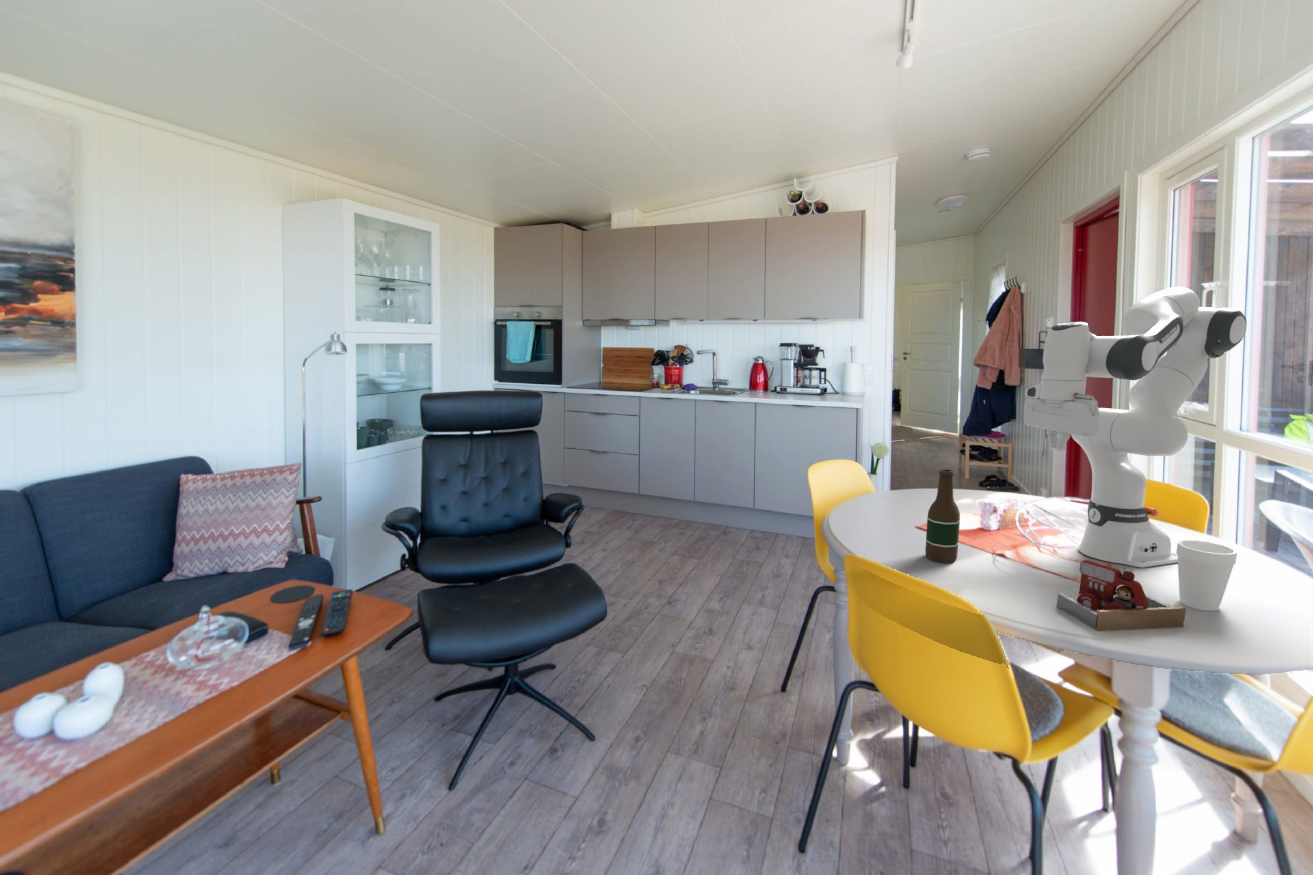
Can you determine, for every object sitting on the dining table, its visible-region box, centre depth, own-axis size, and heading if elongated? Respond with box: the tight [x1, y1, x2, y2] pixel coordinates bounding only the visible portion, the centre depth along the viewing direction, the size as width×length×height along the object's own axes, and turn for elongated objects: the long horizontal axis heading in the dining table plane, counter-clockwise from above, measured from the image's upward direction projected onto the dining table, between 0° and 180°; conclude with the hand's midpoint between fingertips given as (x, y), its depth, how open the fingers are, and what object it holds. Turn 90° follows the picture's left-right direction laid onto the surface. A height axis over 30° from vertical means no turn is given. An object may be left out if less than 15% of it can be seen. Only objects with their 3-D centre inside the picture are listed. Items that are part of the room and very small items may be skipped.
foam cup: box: [1175, 539, 1238, 612], centre depth 127 cm, size 10×9×13 cm
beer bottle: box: [924, 468, 961, 564], centre depth 155 cm, size 8×8×24 cm
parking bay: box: [1056, 592, 1187, 632], centre depth 123 cm, size 18×11×4 cm, turn 94°
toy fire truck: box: [1076, 559, 1148, 612], centre depth 123 cm, size 7×12×10 cm, turn 27°
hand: (1056, 449), depth 142 cm, fingers closed
